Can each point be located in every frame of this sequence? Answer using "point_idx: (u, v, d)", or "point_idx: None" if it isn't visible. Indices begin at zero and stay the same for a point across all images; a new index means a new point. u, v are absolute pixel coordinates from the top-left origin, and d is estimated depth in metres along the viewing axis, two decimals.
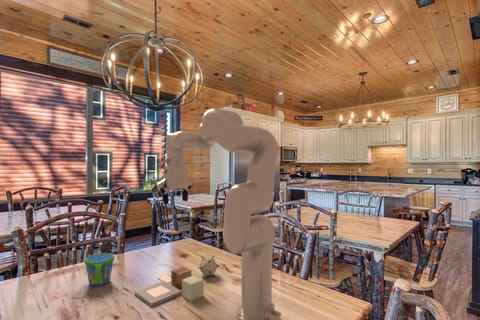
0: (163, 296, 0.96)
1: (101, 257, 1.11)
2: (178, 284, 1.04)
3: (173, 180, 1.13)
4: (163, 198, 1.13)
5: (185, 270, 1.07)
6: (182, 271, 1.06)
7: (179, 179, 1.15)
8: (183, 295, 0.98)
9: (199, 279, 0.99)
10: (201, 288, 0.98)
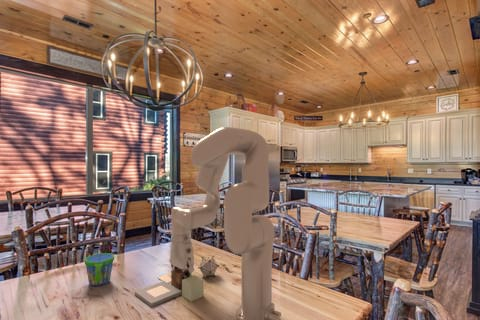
0: (163, 296, 0.96)
1: (101, 257, 1.11)
2: (178, 284, 1.04)
3: None
4: None
5: (185, 270, 1.07)
6: None
7: None
8: (183, 295, 0.98)
9: (199, 279, 0.99)
10: (201, 288, 0.98)
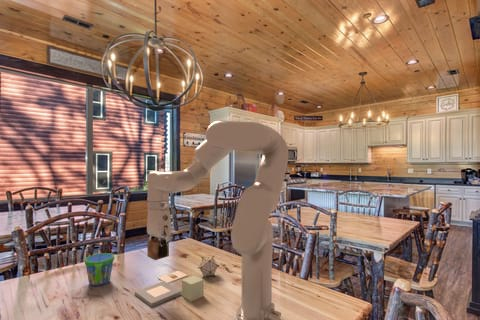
0: (163, 296, 0.96)
1: (101, 257, 1.11)
2: (154, 254, 0.96)
3: None
4: (164, 251, 0.97)
5: (162, 240, 1.00)
6: None
7: None
8: (183, 295, 0.98)
9: (199, 279, 0.99)
10: (201, 288, 0.98)
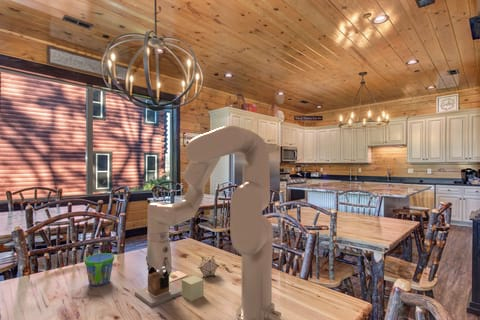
0: (163, 296, 0.96)
1: (101, 257, 1.11)
2: (154, 290, 0.96)
3: None
4: (165, 282, 0.96)
5: None
6: (159, 275, 0.99)
7: None
8: (183, 295, 0.98)
9: (199, 279, 0.99)
10: (201, 288, 0.98)
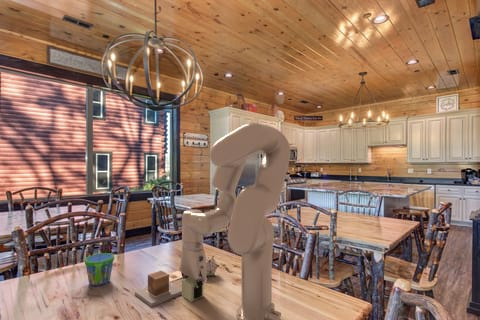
0: (163, 296, 0.96)
1: (101, 257, 1.11)
2: (154, 290, 0.96)
3: None
4: (199, 292, 0.96)
5: (162, 275, 0.99)
6: (159, 275, 0.99)
7: None
8: (183, 295, 0.98)
9: None
10: None
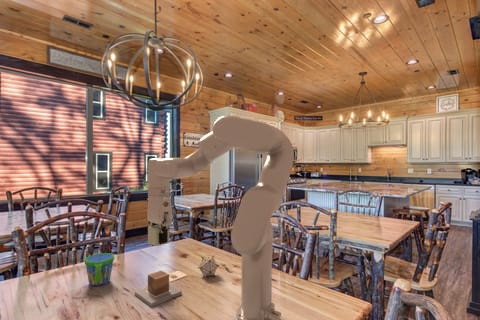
0: (163, 296, 0.96)
1: (101, 257, 1.11)
2: (154, 290, 0.96)
3: None
4: (164, 237, 0.97)
5: (162, 275, 0.99)
6: (159, 275, 0.99)
7: None
8: (149, 241, 0.99)
9: None
10: None
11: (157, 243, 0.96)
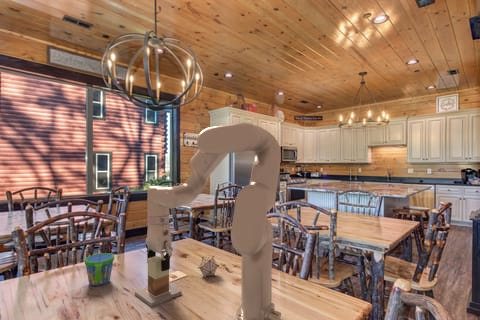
0: (163, 296, 0.96)
1: (101, 257, 1.11)
2: (154, 290, 0.96)
3: None
4: (167, 264, 0.96)
5: None
6: None
7: None
8: (149, 273, 0.99)
9: None
10: None
11: (157, 276, 0.96)
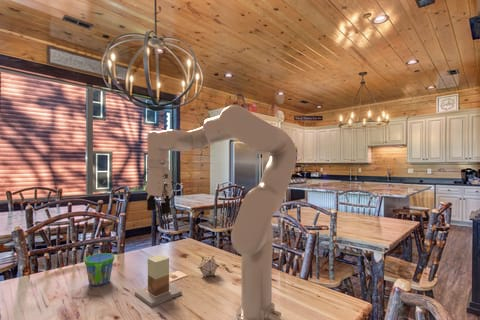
0: (163, 296, 0.96)
1: (101, 257, 1.11)
2: (154, 290, 0.96)
3: None
4: (167, 207, 0.96)
5: None
6: None
7: None
8: (149, 273, 0.99)
9: (165, 258, 1.00)
10: (166, 266, 0.99)
11: (157, 276, 0.96)
